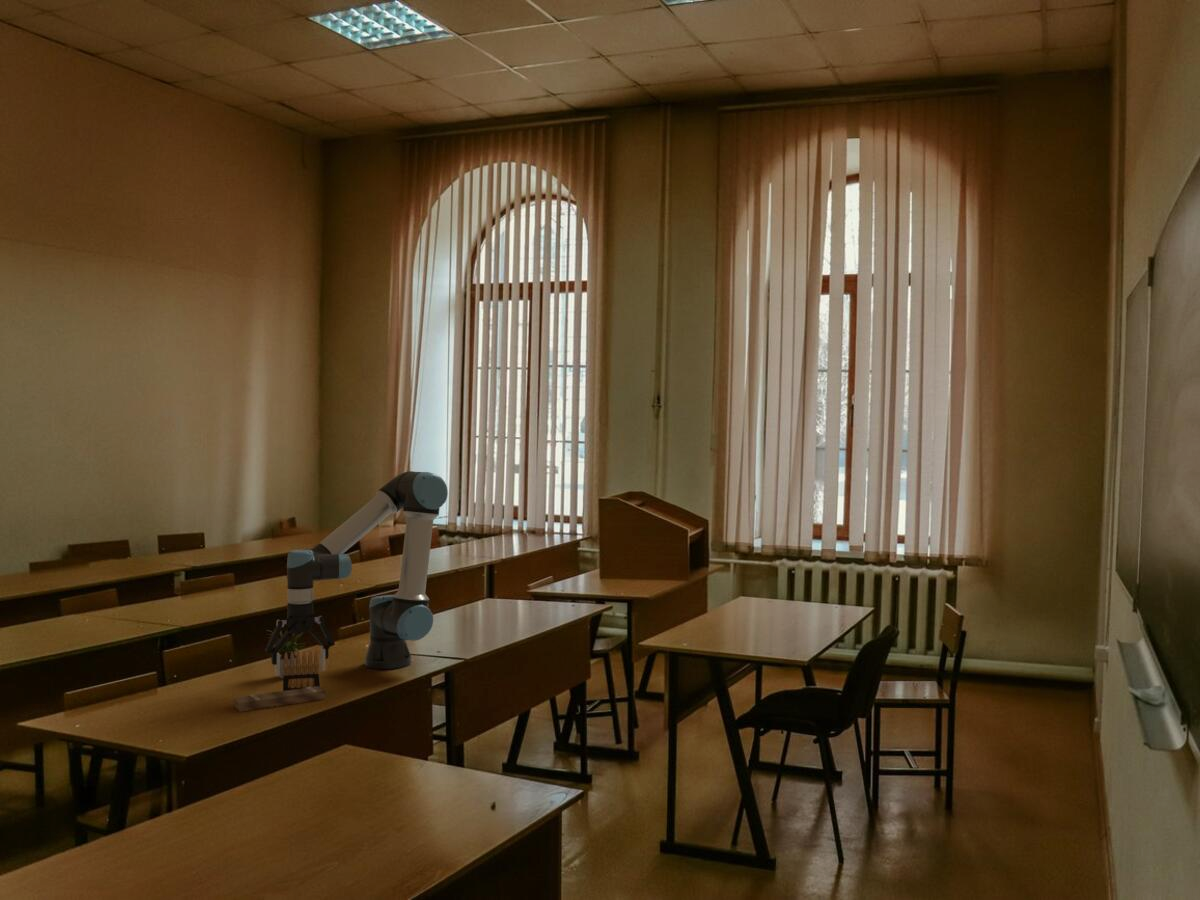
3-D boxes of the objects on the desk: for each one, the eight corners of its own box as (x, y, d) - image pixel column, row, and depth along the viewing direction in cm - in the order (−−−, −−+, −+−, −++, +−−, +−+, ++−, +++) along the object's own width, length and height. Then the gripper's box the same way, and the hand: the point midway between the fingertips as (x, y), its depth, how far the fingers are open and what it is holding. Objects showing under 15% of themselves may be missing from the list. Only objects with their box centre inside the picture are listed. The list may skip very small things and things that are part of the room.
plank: (318, 694, 304) (318, 685, 304) (325, 699, 298) (324, 690, 298) (234, 706, 291) (234, 697, 291) (239, 711, 286) (239, 702, 285)
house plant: (252, 681, 319) (251, 629, 319) (271, 671, 333) (270, 621, 333) (295, 682, 318) (295, 630, 317) (313, 672, 332) (312, 621, 331)
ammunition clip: (320, 689, 310) (319, 649, 310) (319, 690, 308) (319, 650, 308) (283, 691, 308) (282, 651, 308) (282, 692, 306) (282, 652, 306)
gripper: (337, 597, 317) (337, 665, 318) (254, 603, 304) (254, 675, 304) (345, 600, 311) (344, 670, 311) (260, 607, 298) (260, 680, 298)
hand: (300, 672), depth 308 cm, fingers open, 13 cm apart
